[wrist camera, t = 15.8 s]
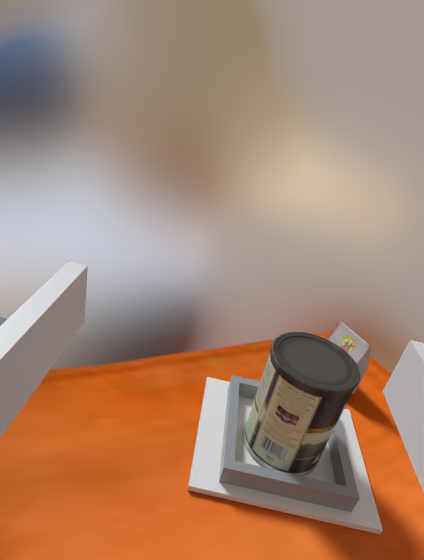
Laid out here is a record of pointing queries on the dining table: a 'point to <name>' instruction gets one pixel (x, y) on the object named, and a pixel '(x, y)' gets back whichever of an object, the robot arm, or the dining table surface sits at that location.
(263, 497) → the caddy
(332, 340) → the white printed box
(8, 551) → the dining table surface
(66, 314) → the robot arm
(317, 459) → the coffee can
